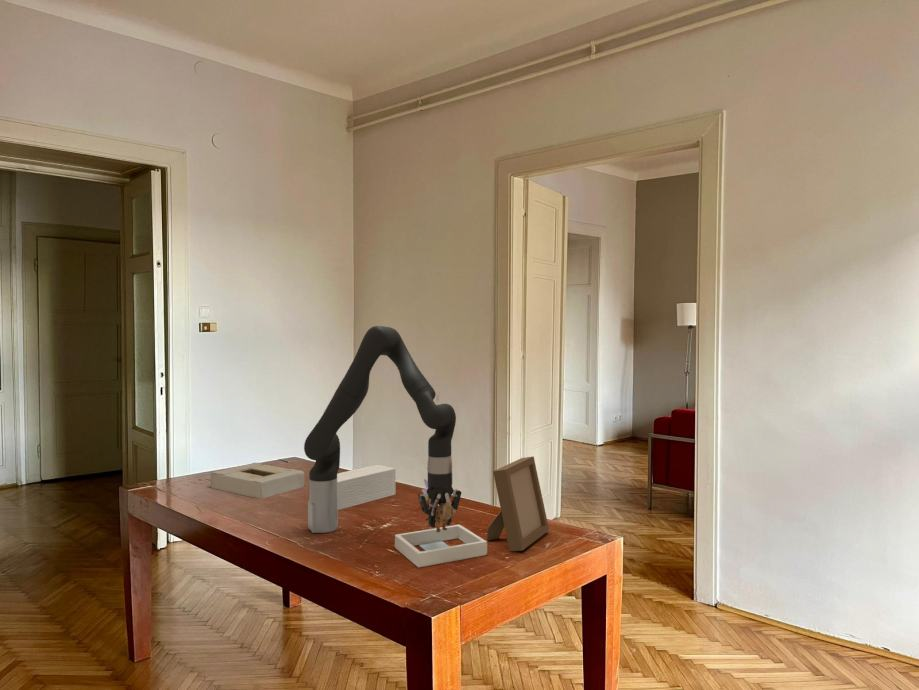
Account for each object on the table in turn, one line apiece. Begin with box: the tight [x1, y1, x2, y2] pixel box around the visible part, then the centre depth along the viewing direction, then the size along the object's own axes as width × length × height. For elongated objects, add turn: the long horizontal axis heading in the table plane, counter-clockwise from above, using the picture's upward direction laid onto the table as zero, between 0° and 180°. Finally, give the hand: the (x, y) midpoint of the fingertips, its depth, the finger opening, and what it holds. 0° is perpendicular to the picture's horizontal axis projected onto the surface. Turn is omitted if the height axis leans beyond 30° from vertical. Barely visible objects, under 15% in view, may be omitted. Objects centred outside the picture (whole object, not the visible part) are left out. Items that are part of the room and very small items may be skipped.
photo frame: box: [485, 456, 550, 552], centre depth 213 cm, size 15×22×25 cm
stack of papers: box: [337, 464, 397, 511], centre depth 260 cm, size 32×11×11 cm, turn 138°
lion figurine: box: [425, 503, 457, 532], centre depth 204 cm, size 15×5×9 cm, turn 34°
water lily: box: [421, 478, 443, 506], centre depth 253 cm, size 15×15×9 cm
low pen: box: [394, 524, 488, 568], centre depth 203 cm, size 22×18×4 cm
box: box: [210, 462, 305, 500], centre depth 280 cm, size 23×8×32 cm
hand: (440, 525), depth 203 cm, fingers closed on lion figurine, 4 cm apart
